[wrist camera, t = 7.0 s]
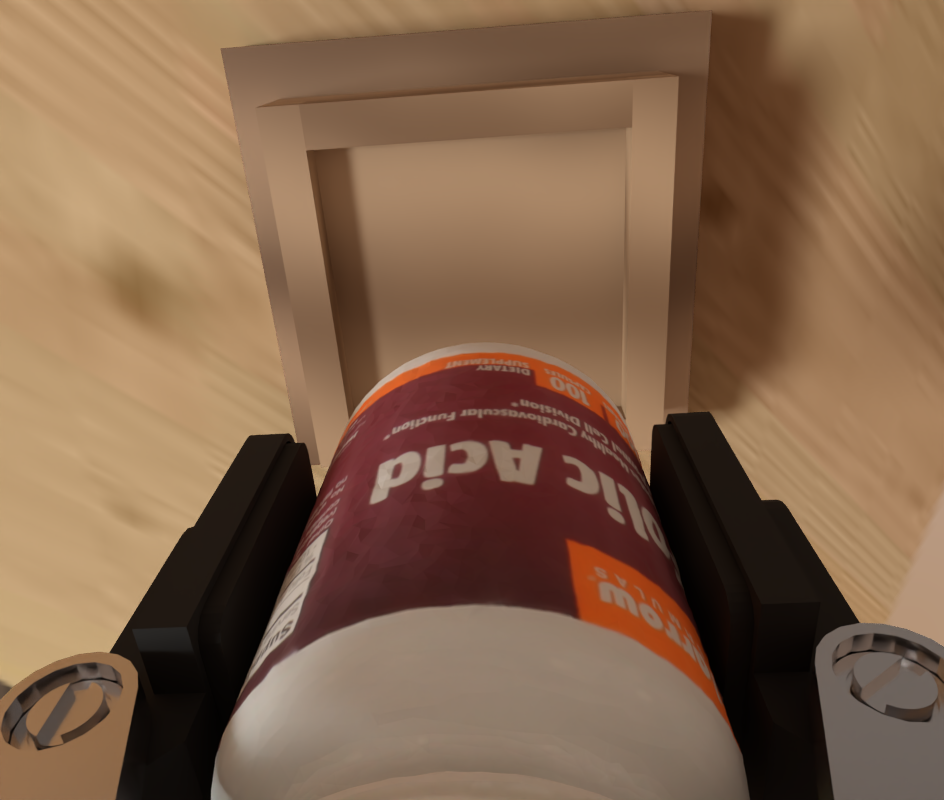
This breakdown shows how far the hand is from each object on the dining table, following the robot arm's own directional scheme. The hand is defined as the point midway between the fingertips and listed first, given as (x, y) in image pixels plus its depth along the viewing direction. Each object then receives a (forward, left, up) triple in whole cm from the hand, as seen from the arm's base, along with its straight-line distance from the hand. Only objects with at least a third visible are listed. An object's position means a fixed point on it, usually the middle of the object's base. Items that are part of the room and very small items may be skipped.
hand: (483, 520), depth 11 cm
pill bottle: (0, 0, -2) cm, 2 cm away
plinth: (0, 0, -14) cm, 14 cm away
